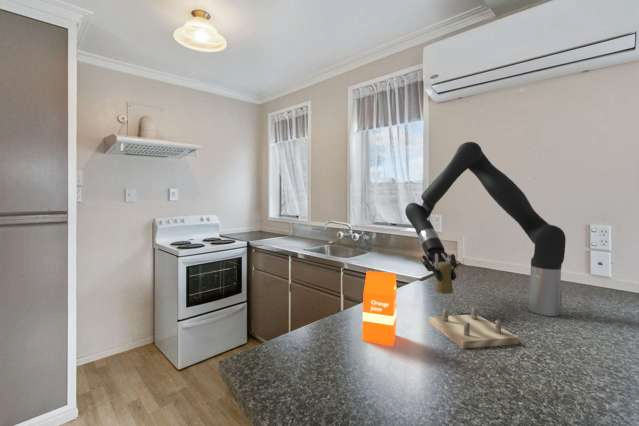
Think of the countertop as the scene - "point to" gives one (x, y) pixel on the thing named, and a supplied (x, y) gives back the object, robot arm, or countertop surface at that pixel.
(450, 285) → the cork
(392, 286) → the orange juice
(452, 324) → the peg board
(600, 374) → the countertop surface
